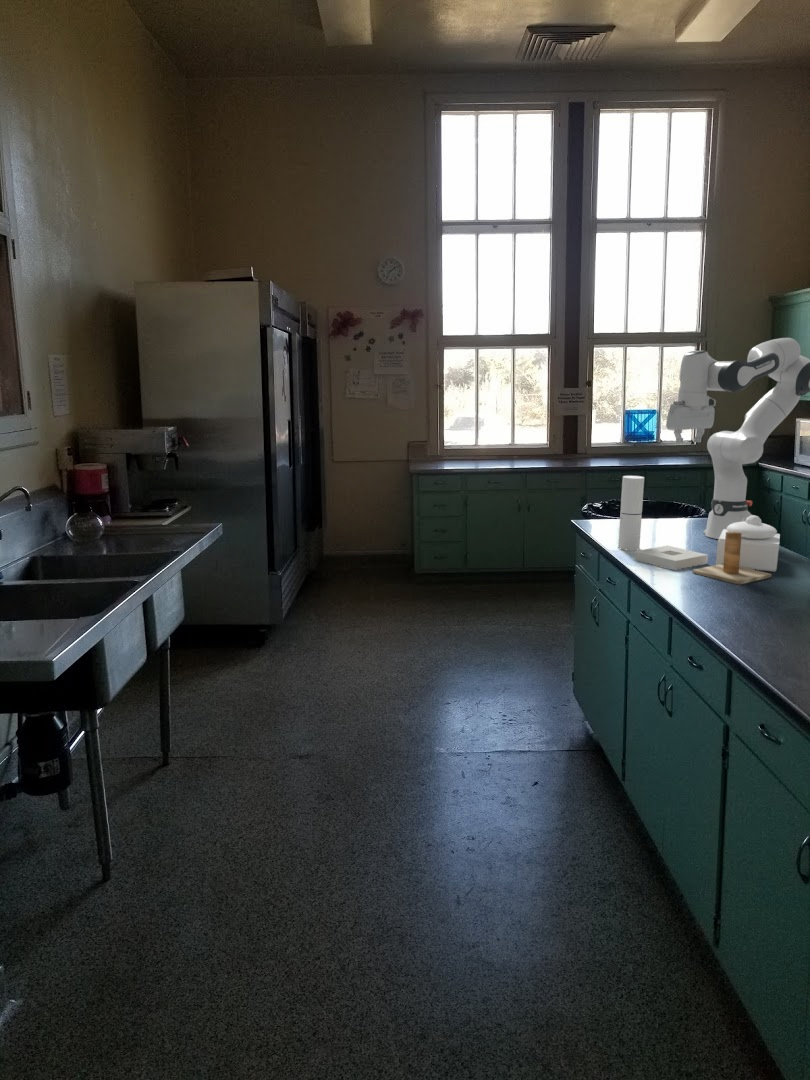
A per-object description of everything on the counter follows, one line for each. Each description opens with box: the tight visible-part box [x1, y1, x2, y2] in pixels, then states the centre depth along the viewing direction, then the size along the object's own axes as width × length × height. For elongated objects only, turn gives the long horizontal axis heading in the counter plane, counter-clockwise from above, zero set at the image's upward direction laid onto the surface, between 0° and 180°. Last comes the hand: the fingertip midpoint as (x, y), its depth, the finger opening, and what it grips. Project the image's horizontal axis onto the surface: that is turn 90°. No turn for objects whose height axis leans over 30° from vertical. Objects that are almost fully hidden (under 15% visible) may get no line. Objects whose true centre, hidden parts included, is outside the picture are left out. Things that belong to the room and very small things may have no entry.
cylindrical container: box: [617, 475, 645, 551], centre depth 273 cm, size 7×7×25 cm
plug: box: [723, 532, 742, 573], centre depth 239 cm, size 4×4×12 cm
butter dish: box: [715, 514, 781, 572], centre depth 255 cm, size 18×18×16 cm
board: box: [692, 564, 772, 585], centre depth 240 cm, size 16×16×1 cm
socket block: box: [634, 545, 709, 571], centre depth 256 cm, size 16×16×3 cm
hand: (688, 442), depth 265 cm, fingers open, 8 cm apart
